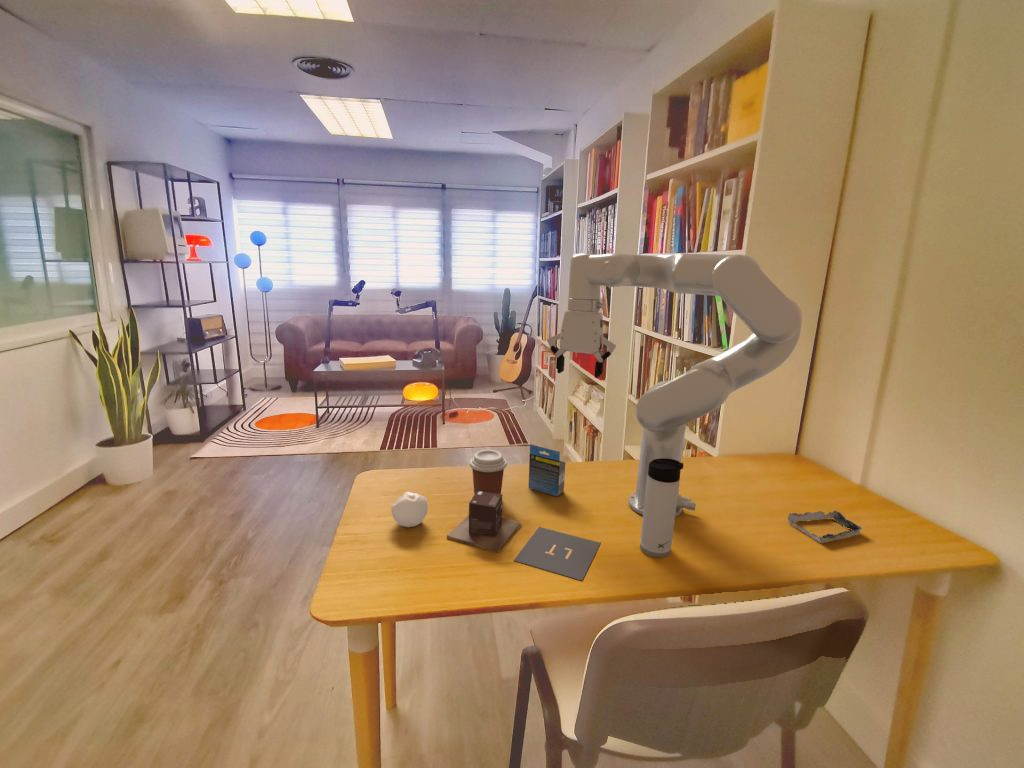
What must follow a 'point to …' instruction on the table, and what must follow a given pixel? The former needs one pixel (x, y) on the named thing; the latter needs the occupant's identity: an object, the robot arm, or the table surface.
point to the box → (485, 514)
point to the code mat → (558, 553)
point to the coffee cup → (488, 471)
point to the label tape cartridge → (546, 471)
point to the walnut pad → (482, 541)
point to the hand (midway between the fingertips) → (578, 374)
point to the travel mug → (660, 507)
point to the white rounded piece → (409, 509)
